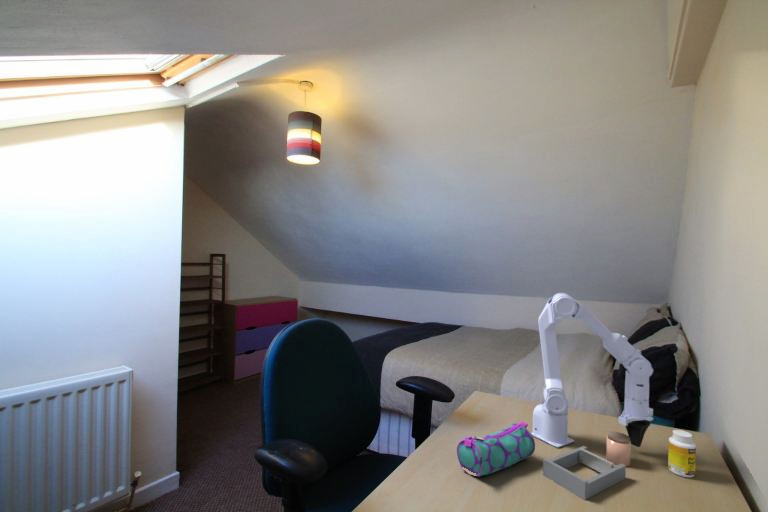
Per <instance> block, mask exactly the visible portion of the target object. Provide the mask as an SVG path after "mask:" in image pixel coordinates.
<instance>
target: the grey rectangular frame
mask: <svg viewBox="0 0 768 512" xmlns="http://www.w3.org/2000/svg"><path fill="white" fill-rule="evenodd" d="M581 448H583V449H585V450H587V451H588V447H587V446H585V445H582V446H579V447H577V448H575V449H573V450H572V449H571V450H570V451H567V452H565V453H562V454H560V455H558V456H555V457H553V458H550V459H548V458H546V457H545V458H543V459H542V460H543V461H542V462H543V463H542V465H543V466H542V475H543V476H544V477H545V478H547V477H548V478H547V479H549V480H551V481H552V480H553V481H552V482H554V483H556V484H557V483H558V484H557V485H560V486H561V487H563V488H564V489H566V490H568V491H570V493H573V494H574V495H576V496H577V497H579V498H581V499H583V500H584V501H585V500H587V499H588V498H591V497H593V496H595V495H597V494H599V493H600V492H602V491H604V490H606V489H608V488H610V487H612V486H614V485H617V484H618V483H620V482H621V481H624V480H625V479H626V474H627V473H626V469H627V467H626V465H624V464H620V465H614V467H613V468H611V469H609V470H607V471H605V472H603V473H598V474H597V475H595V476H593V477H590V478H588V479H585V478H583V477H581V476H579V475H577V474H575V473H574V472H572V471H570V470H568V469H569V468H570V467H573V466H575V465H577V464H581V462H579V449H581Z"/></svg>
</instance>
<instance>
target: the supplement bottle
mask: <svg viewBox="0 0 768 512" xmlns="http://www.w3.org/2000/svg"><path fill="white" fill-rule="evenodd" d="M696 451H697V445H696V443H695V442H694V441H693V435H692V433H690V432H688V431H685V430H683V429H673V430H672V435H671V436H669V438H668V454H667V466H668V469H669V471H670V472H671V473H673V474H675V475H677V476H680V477H683V478H693V477H694V476H695V475H696V461H697V460H696V458H697V457H696V453H697V452H696Z"/></svg>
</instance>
